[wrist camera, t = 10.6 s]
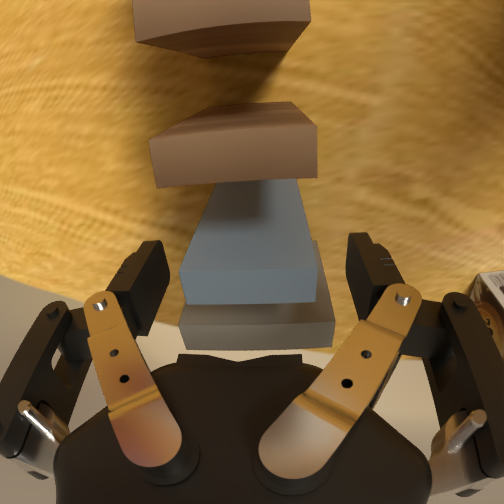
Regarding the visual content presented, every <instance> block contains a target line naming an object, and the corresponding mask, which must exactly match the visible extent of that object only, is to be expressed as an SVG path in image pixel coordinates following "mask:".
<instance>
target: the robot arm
mask: <svg viewBox="0 0 504 504" xmlns="http://www.w3.org/2000/svg"><path fill="white" fill-rule="evenodd" d="M346 278H347V281H348V284H349V288H350V291H351V294H352V298H353V301H354V305H355V308H356V312H357V315H358V319H359V322H358V324H357V325H356V326H355V328H354V329H353V331H352V332H351V333H350V335H349V336H348V338H347V339H346V340H345V342H344V343H343V345H342V346H341V347H340V349H339V350H338V351H337V353H336V354H335V355H334V357H333V358H332V359H331V361H330V362H329V363H328V364H327V366H326V367H325V368H324V370H323V369H321V368H319V367H316V366H313V365H310V364H305V363H302V354H295V355H293V354H292V355H269V356H265V357H260V358H256V359H251V360H246V361H240V362H236V361H231V360H226V359H222V358H218V357H214V356H210V355H196V354H179V355H178V359H177V362H176V363H172V364H168V365H165V366H162V367H160V368H158V369H156V370H154V371H152V372H151V371H150V370H149V368H148V366H147V364H146V362H145V360H144V358H143V356H142V354H141V351H140V349H139V347H138V345H137V343H136V341H135V340H136V337H137V336H148V334H149V331H150V328H151V326H152V324H153V321H154V319H155V316H156V314H157V311H158V309H159V306H160V304H161V301H162V299H163V296H164V294H165V292H166V289H167V287H168V284H169V281H170V271H169V267H168V263H167V259H166V255H165V252H164V248H163V244H162V242H161V241H160V240H155V241H144V242H143V243H142V244H141V246H140V247H139V249H138V250H137V252H134V253H132V254H131V255H130V256H129V257H127V258H126V259H125V261H124V262H123V264H122V265H121V268H119V270H118V271H117V274H116V275H115V276H114V278H113V279H112V281H111V282H110V284H109V286H108V287H107V289H106V290H105V291H102V292H98V293H96V294H94V295H92V296H91V297H89V298H88V299H87V300H86V302H85V303H84V307H83V308H78V309H73V310H69V309H68V307H67V305H66V303H65V302H63V301H55V302H52V303H50V304H48V305H47V306H46V307H44V308H43V309H42V311H41V312H40V314H39V315H38V317H37V318H36V320H35V322H34V324H33V325H32V327H31V328H30V330H29V332H28V333H27V335H26V337H25V338H24V340H23V342H22V343H21V345H20V347H19V349H18V351H17V352H16V354H15V356H14V358H13V359H12V361H11V363H10V365H9V367H8V369H7V371H6V373H5V374H4V376H3V379H2V380H1V383H0V455H1V456H2V457H4V458H5V459H6V460H8V461H9V462H11V463H12V464H14V465H15V466H17V467H18V468H20V469H21V470H23V471H26V472H28V473H29V474H31V475H32V476H34V477H35V478H37V479H42V480H43V479H47V478H49V477H50V478H53V479H55V483H56V504H426V503H427V501H430V500H434V499H438V498H441V497H444V496H448V495H451V494H456V495H458V496H460V497H468V496H471V495H473V494H475V493H477V492H478V491H480V490H482V489H484V488H486V487H487V486H489V485H491V484H492V483H494V482H496V481H497V480H499V479H500V478H502V477H504V361H503V359H502V356H501V354H500V352H499V350H498V348H497V346H496V343H495V341H494V339H493V337H492V335H491V333H490V331H489V329H488V327H487V325H486V324H485V322H484V320H483V318H482V316H481V314H480V312H479V310H478V309H477V307H476V305H475V303H474V302H473V301H472V299H470V298H469V297H468V296H466V295H464V294H462V293H458V292H451V293H448V294H446V295H445V296H444V298H443V301H442V303H441V302H434V301H428V300H424V299H422V296H421V294H420V293H419V291H418V290H417V289H415V288H414V287H412V286H410V285H407V284H405V282H404V280H403V278H402V276H401V274H400V272H399V271H398V269H397V267H396V265H395V263H394V261H393V259H391V256H390V254H389V252H388V250H387V249H385V248H384V247H383V246H382V245H380V244H373V242H372V240H371V239H370V237H369V235H368V233H367V232H361V233H350V234H349V237H348V247H347V257H346ZM57 348H58V349H59V351H60V352H61V356H60V358H59V360H58V362H57V365H56V367H55V369H54V370H53V368H52V365H51V360H52V357H53V355H54V353H55V351H56V349H57ZM402 355H409V356H416V357H422V360H423V363H424V367H425V370H426V374H427V377H428V380H429V384H430V388H431V392H432V396H433V400H434V404H435V408H436V412H437V416H438V421H439V425H440V430H439V431H438V432H437V433H436V435H435V436H434V438H433V440H432V443H431V456H430V459H429V461H428V460H427V458H426V457H425V455H424V454H423V453H422V452H421V451H420V450H419V449H418V448H417V447H416V446H415V445H413V444H412V443H411V442H410V441H409V440H407V439H406V438H405V437H404V436H403V435H401V434H400V433H399V432H398V431H397V430H396V429H394V428H393V427H392V426H391V425H390V424H389V423H387V422H386V421H385V420H384V419H383V418H381V417H380V416H379V415H378V414H377V413H376V412H374V411H373V408H374V407H375V405H376V403H377V401H378V399H379V398H380V396H381V393H382V392H383V390H384V388H385V386H386V384H387V383H388V380H389V379H390V377H391V375H392V373H393V371H394V369H395V368H396V366H397V364H398V362H399V360H400V358H401V356H402ZM92 359H93V362H94V366H95V369H96V372H97V375H98V379H99V382H100V385H101V388H102V391H103V394H104V397H105V400H106V403H107V406H106V407H105V408H104V409H102V410H101V411H100V412H98V413H97V414H96V415H94V416H93V417H92V418H90V419H89V420H88V421H86V422H85V423H84V424H82V425H81V426H80V427H78V428H77V429H76V430H74V431H73V432H72V433H70V431H69V428H68V424H69V421H70V418H71V415H72V412H73V410H74V407H75V404H76V401H77V398H78V395H79V393H80V390H81V387H82V384H83V382H84V380H85V377H86V374H87V372H88V369H89V367H90V364H91V362H92Z"/></svg>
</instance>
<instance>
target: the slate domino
mask: <svg viewBox="0 0 504 504" xmlns="http://www.w3.org/2000/svg"><path fill="white" fill-rule="evenodd" d="M317 271H318V267H317V262H316V258H315V253H314V249H313V244H312V240H311V236H310V232H309V227H308V223H307V219H306V215H305V211H304V207H303V203H302V199H301V195H300V191H299V187H298V184H297V180H296V179H272V180H252V181H236V182H221V183H216V185H215V188H214V190H213V192H212V194H211V196H210V199H209V201H208V203H207V205H206V208H205V210H204V212H203V215H202V217H201V219H200V221H199V224H198V226H197V228H196V231H195V233H194V235H193V238H192V240H191V243H190V245H189V247H188V250H187V252H186V254H185V257H184V259H183V262H182V264H181V267H180V269H179V276H180V280H181V284H182V288H183V292H184V296H185V299H186V303H187V305H219V304H273V303H302V302H315V300H316V287H317Z"/></svg>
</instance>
